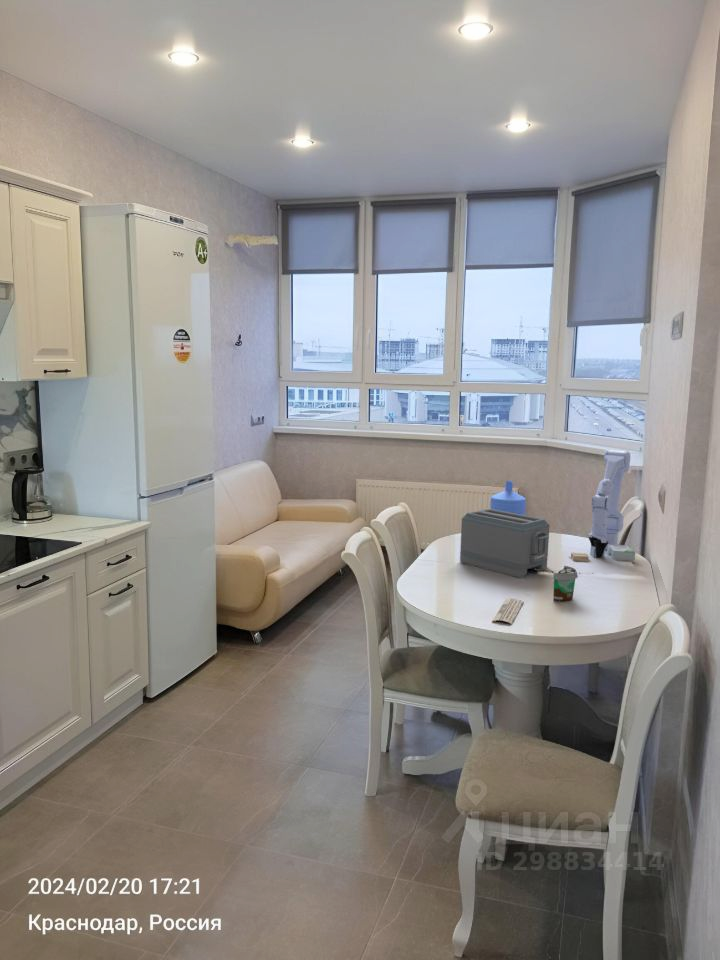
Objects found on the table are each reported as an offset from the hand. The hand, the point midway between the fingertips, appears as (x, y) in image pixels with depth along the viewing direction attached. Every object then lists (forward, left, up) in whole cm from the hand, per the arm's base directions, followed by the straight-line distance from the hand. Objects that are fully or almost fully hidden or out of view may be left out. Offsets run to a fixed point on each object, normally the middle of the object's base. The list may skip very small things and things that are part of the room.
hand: (597, 555), depth 303 cm
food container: (+55, -28, -2) cm, 62 cm away
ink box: (+6, +9, +1) cm, 11 cm away
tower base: (+6, -9, -2) cm, 11 cm away
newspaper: (+70, -51, -2) cm, 87 cm away
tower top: (+6, -9, 0) cm, 11 cm away
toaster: (+16, -41, -2) cm, 44 cm away
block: (0, 0, -1) cm, 1 cm away
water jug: (-25, -33, -2) cm, 41 cm away
